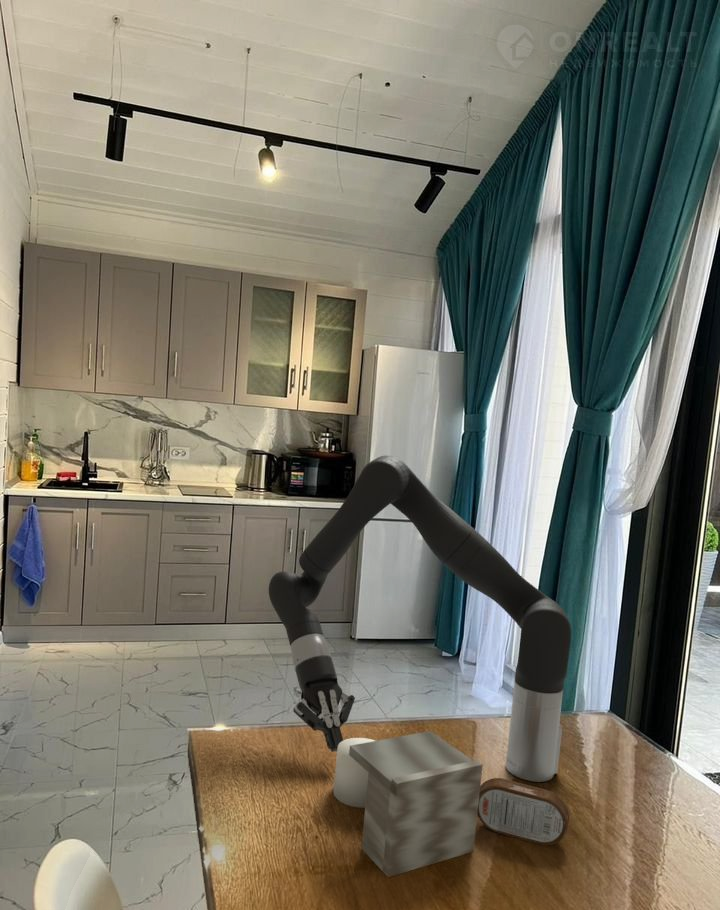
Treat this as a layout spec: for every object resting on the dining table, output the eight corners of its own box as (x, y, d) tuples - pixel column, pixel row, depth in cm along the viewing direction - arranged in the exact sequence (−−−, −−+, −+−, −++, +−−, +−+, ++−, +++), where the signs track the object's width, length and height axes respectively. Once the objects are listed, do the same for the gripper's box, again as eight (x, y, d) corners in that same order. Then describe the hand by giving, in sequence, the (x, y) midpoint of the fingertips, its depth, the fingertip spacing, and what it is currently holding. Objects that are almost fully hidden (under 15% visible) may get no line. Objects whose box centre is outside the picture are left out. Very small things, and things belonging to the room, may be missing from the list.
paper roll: (367, 776, 134) (371, 734, 133) (394, 801, 126) (398, 756, 126) (324, 786, 129) (328, 742, 129) (349, 812, 122) (354, 765, 121)
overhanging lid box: (422, 807, 125) (430, 728, 124) (473, 851, 114) (482, 764, 113) (341, 827, 117) (350, 742, 116) (387, 877, 105) (397, 783, 104)
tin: (566, 843, 118) (572, 793, 118) (565, 854, 115) (571, 803, 115) (474, 819, 123) (479, 770, 123) (471, 828, 120) (476, 779, 120)
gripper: (289, 657, 139) (313, 747, 129) (349, 650, 146) (376, 736, 136) (275, 674, 144) (297, 763, 134) (334, 667, 150) (359, 751, 141)
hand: (337, 749), depth 135 cm, fingers closed
